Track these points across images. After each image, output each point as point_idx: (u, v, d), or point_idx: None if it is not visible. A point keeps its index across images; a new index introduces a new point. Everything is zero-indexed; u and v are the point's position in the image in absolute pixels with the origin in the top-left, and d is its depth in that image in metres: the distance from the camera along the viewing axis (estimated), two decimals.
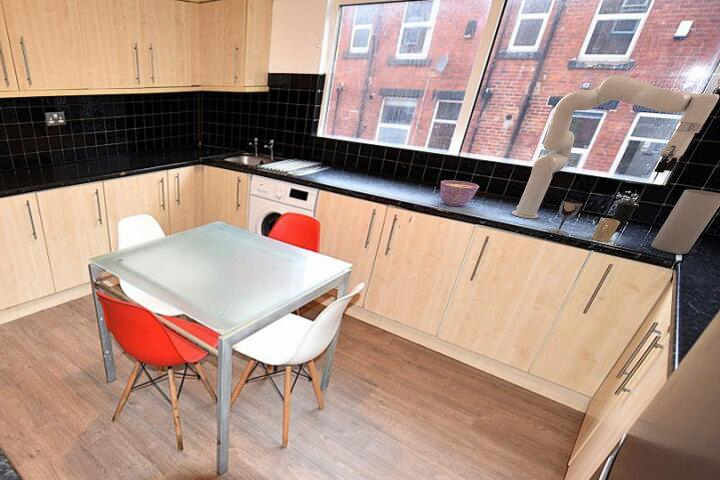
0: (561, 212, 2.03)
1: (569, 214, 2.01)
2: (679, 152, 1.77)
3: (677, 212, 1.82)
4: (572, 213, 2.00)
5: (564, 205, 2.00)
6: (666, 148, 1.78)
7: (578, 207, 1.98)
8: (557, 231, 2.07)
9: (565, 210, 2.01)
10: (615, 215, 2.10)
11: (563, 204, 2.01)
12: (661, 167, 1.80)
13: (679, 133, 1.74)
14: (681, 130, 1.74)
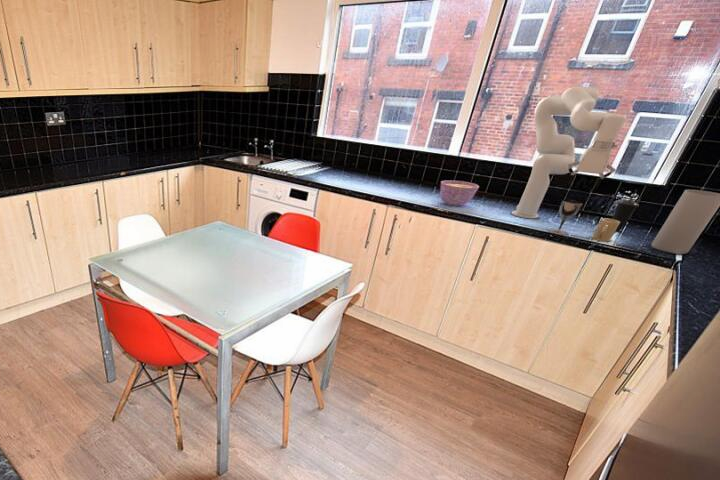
0: (561, 212, 2.03)
1: (569, 214, 2.01)
2: (585, 167, 1.91)
3: (677, 212, 1.82)
4: (572, 213, 2.00)
5: (564, 205, 2.00)
6: None
7: (578, 207, 1.98)
8: (557, 231, 2.07)
9: (565, 210, 2.01)
10: (615, 215, 2.10)
11: (563, 204, 2.01)
12: (569, 179, 1.98)
13: None
14: None
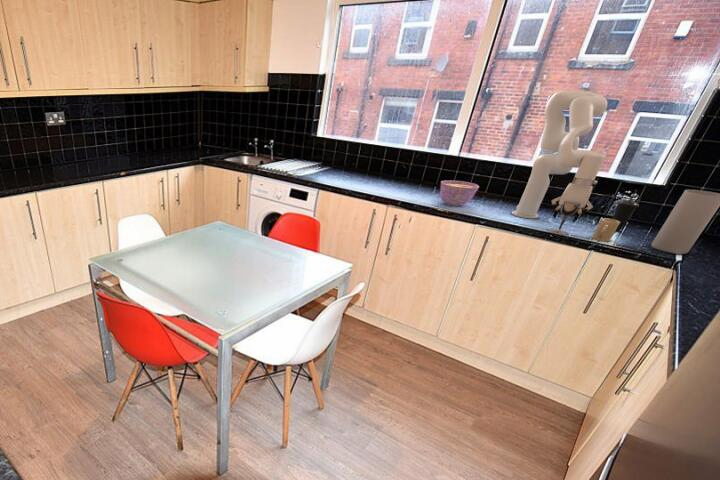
0: (561, 212, 2.03)
1: (569, 214, 2.00)
2: (566, 201, 2.00)
3: (677, 212, 1.82)
4: (572, 213, 2.00)
5: (564, 205, 2.00)
6: None
7: (578, 207, 1.98)
8: (557, 231, 2.07)
9: (565, 210, 2.01)
10: (615, 215, 2.10)
11: (563, 204, 2.01)
12: None
13: None
14: (572, 182, 1.98)
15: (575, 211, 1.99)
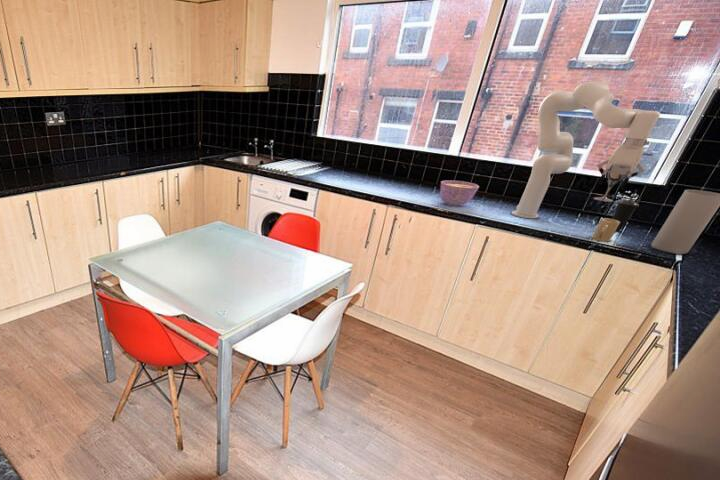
0: (608, 177, 1.89)
1: (617, 179, 1.87)
2: None
3: (677, 212, 1.82)
4: (621, 177, 1.86)
5: (612, 169, 1.86)
6: None
7: (628, 171, 1.84)
8: (603, 198, 1.93)
9: (613, 174, 1.87)
10: (615, 215, 2.10)
11: (611, 168, 1.87)
12: (599, 179, 1.92)
13: (617, 146, 1.85)
14: (621, 144, 1.85)
15: (624, 175, 1.85)
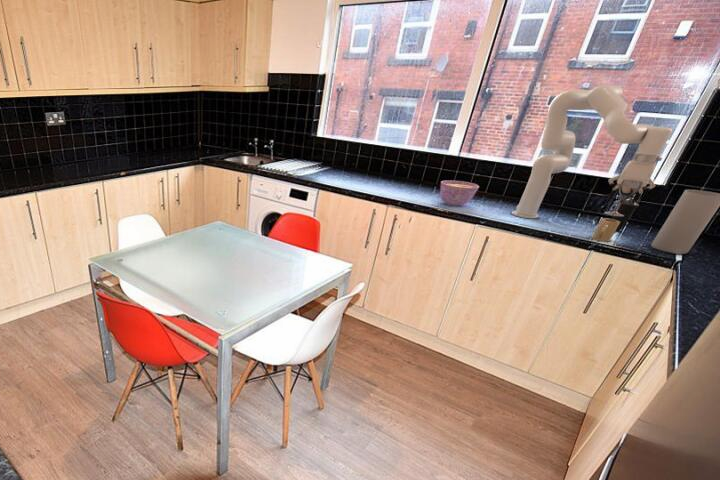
0: (620, 192, 1.89)
1: (629, 194, 1.87)
2: (626, 180, 1.87)
3: (677, 212, 1.82)
4: (632, 193, 1.86)
5: (624, 184, 1.87)
6: None
7: (639, 186, 1.85)
8: (614, 213, 1.94)
9: (624, 189, 1.87)
10: None
11: (622, 183, 1.87)
12: (610, 194, 1.93)
13: (628, 162, 1.86)
14: None
15: (636, 190, 1.86)
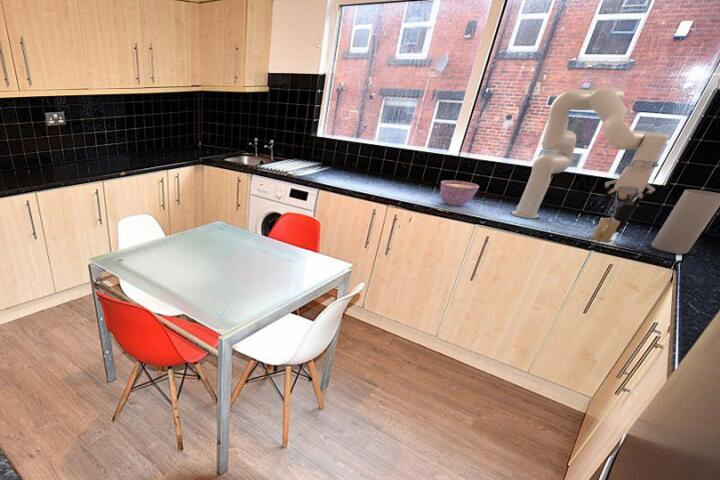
0: (616, 198, 1.91)
1: (625, 200, 1.89)
2: (623, 186, 1.88)
3: (677, 212, 1.82)
4: (628, 199, 1.88)
5: (620, 191, 1.88)
6: None
7: (635, 193, 1.86)
8: (610, 219, 1.95)
9: (621, 196, 1.89)
10: (615, 215, 2.10)
11: (618, 190, 1.89)
12: None
13: (625, 168, 1.87)
14: (629, 165, 1.86)
15: (632, 197, 1.87)
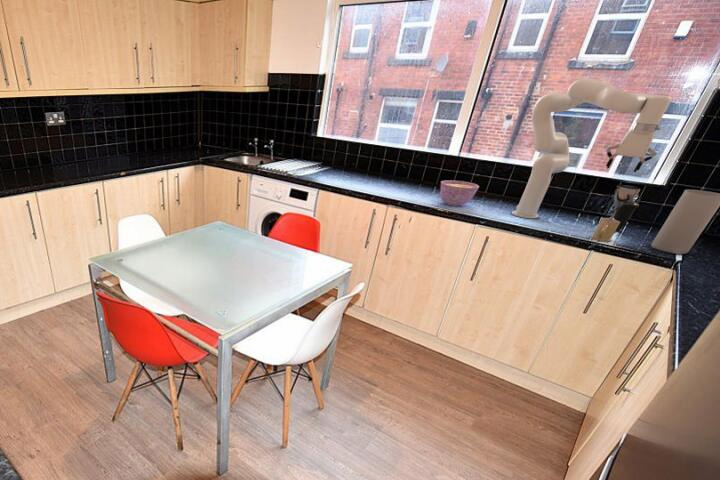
0: (616, 198, 1.91)
1: (625, 200, 1.89)
2: (624, 150, 1.87)
3: (677, 212, 1.82)
4: (628, 199, 1.88)
5: (620, 191, 1.88)
6: None
7: (635, 193, 1.86)
8: (610, 219, 1.95)
9: (621, 196, 1.89)
10: (615, 215, 2.10)
11: (618, 190, 1.89)
12: (607, 163, 1.93)
13: (627, 132, 1.86)
14: None
15: (632, 197, 1.87)
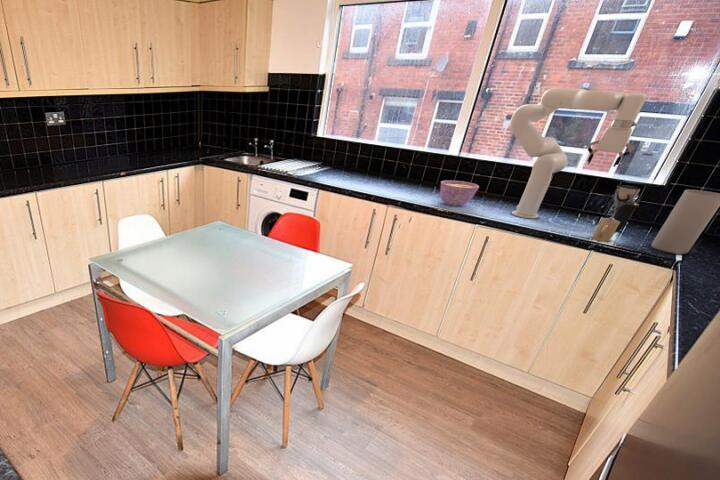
0: (616, 198, 1.91)
1: (625, 200, 1.89)
2: (604, 146, 1.95)
3: (677, 212, 1.82)
4: (628, 199, 1.88)
5: (620, 191, 1.88)
6: None
7: (635, 193, 1.86)
8: (610, 219, 1.95)
9: (621, 196, 1.89)
10: (615, 215, 2.10)
11: (618, 190, 1.89)
12: (588, 158, 2.02)
13: (606, 128, 1.94)
14: (610, 126, 1.93)
15: (632, 197, 1.87)
